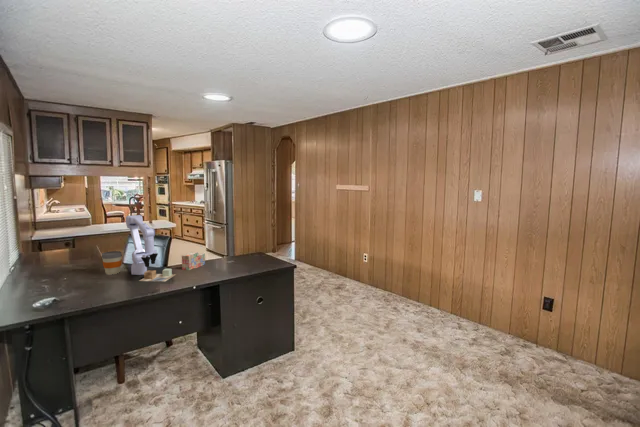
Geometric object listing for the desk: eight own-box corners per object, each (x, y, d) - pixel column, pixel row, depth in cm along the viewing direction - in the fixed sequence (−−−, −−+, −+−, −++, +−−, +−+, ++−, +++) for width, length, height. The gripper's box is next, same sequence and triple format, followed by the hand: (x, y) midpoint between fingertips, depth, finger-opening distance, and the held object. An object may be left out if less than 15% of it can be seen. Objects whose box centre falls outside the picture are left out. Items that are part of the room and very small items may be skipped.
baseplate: (138, 282, 216) (138, 280, 216) (151, 275, 232) (151, 273, 232) (165, 282, 216) (165, 281, 216) (176, 275, 232) (176, 274, 232)
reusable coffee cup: (124, 269, 244) (123, 250, 243) (120, 274, 232) (119, 254, 231) (105, 271, 240) (104, 251, 239) (100, 276, 229) (98, 255, 227)
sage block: (162, 276, 227) (162, 270, 226) (165, 274, 231) (165, 268, 230) (168, 276, 226) (168, 270, 226) (171, 274, 231) (171, 268, 230)
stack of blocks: (198, 263, 265) (198, 249, 263) (205, 264, 263) (204, 249, 262) (182, 271, 244) (181, 255, 243) (189, 271, 243) (188, 255, 241)
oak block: (144, 278, 220) (144, 272, 220) (148, 276, 226) (148, 270, 225) (152, 279, 220) (151, 272, 220) (156, 276, 225) (155, 270, 225)
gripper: (149, 248, 213) (150, 268, 215) (160, 244, 228) (161, 262, 229) (138, 248, 213) (139, 268, 215) (150, 243, 228) (151, 262, 229)
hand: (150, 265), depth 222 cm, fingers open, 7 cm apart
